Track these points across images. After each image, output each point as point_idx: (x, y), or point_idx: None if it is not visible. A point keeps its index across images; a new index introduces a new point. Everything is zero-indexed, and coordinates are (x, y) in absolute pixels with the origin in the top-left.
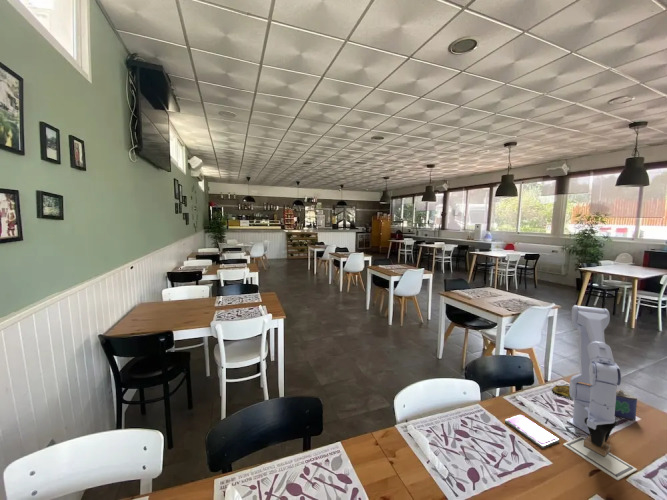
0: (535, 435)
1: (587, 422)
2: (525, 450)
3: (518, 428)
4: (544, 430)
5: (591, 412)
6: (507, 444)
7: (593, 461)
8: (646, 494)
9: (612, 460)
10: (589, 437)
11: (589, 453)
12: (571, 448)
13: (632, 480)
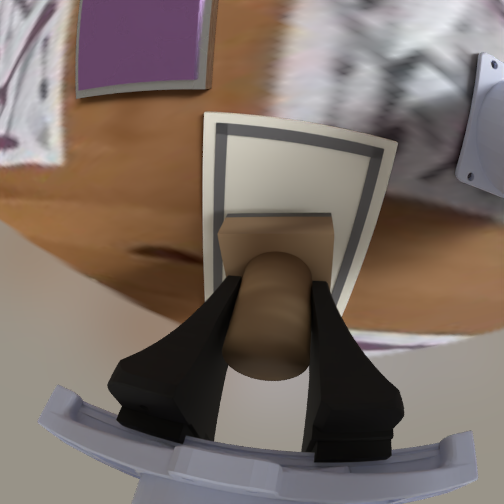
0: (98, 35)
1: (47, 408)
2: (31, 89)
3: None
4: (191, 10)
5: (140, 486)
6: (9, 54)
7: (215, 242)
8: None
9: None
10: (295, 240)
11: None
12: (208, 153)
13: None
